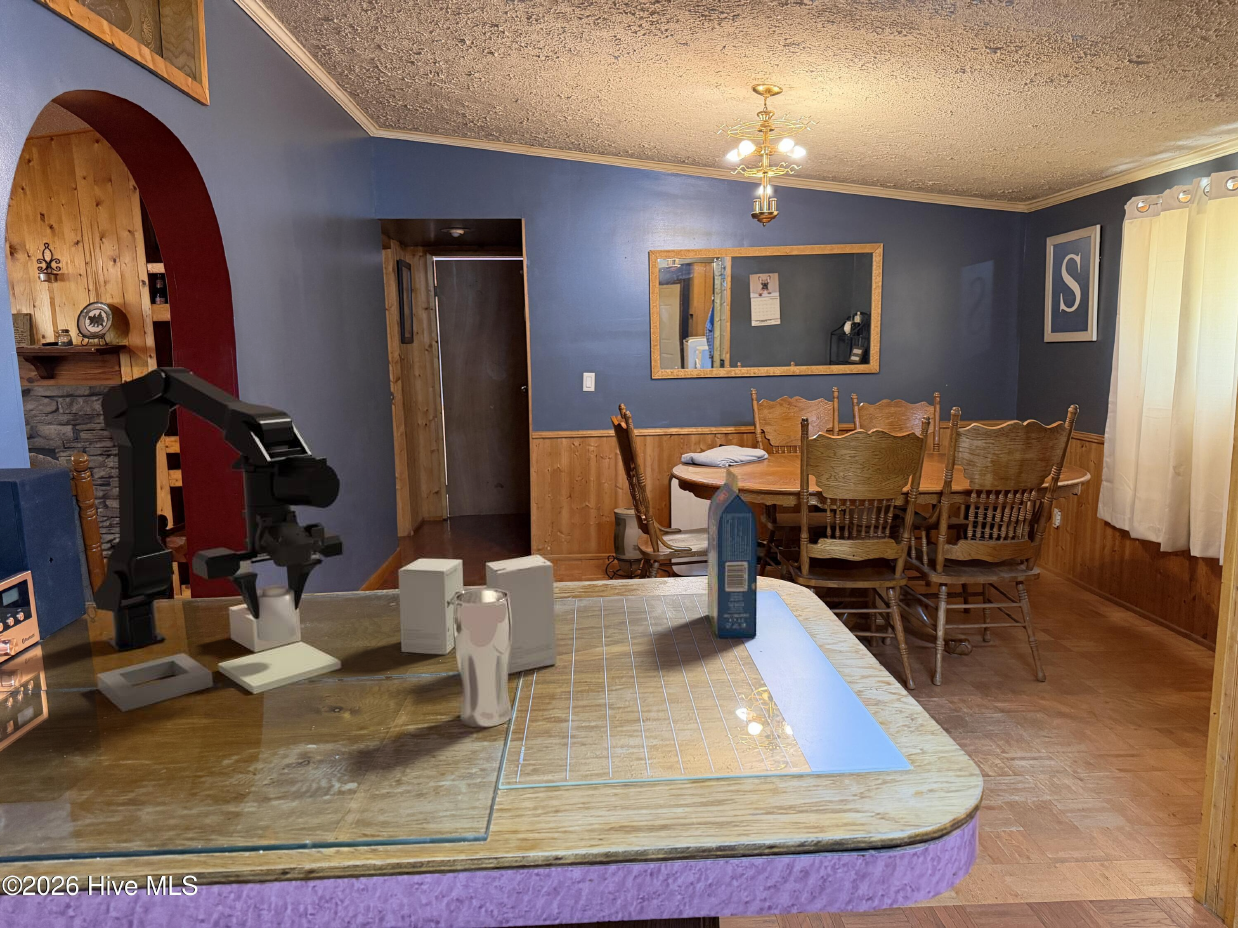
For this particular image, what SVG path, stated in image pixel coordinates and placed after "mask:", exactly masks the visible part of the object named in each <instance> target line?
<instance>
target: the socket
mask: <svg viewBox="0 0 1238 928" xmlns="http://www.w3.org/2000/svg"><path fill="white" fill-rule="evenodd" d="M212 673H213V672H212V671H211V670H209V669H208V668H207V667H205V666H203V665H202V664H200V663H199V662H197V661H196V660H194V658H191V657H190V656H189V655H187V654H185V653H183V652H182V653H177V654H174V655H170V656H166V657H162V658H157V659H154V660H150V661H147V662H142V663H138V664H134V665H130V666H126V667H122V668H117V669H114V670H110V671H109V670H108V671H107V672H101V673H98V674H96V677H97V687H98V688H97V689H98V690H99V691H100V692H101V693H102V694H103V695H104V696H105V697H106V698H107V699H109V701H111V702H112V703H113V704H114V705H115V706H116V707H117V708H118V709H119V710H120V711H122V712H127V711H131V710H134V709H138V708H141V707H145V706H149V705H153V704H156V703H159V702H162V701H166V700H170V699H174V698H176V697H180V696H184V695H187V694H190V693H191V694H192V693H194V692H198V691H202V690H204V689H205V690H206V689H207V688H208V689H209V688H212V687H214V686H213V685H214V683H213V682H214V681H213V674H212ZM173 675H175V676H173ZM169 676H172V677H169ZM164 677H168V678H165V679H164ZM161 678H163V679H161ZM157 679H160V680H157ZM154 680H156V681H154ZM150 681H152V682H150ZM145 682H149V683H146V684H142V683H145ZM138 684H141V685H138ZM135 685H138V686H135Z"/></svg>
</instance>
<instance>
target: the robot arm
mask: <svg viewBox="0 0 1238 928" xmlns="http://www.w3.org/2000/svg"><path fill="white" fill-rule="evenodd" d="M102 394H103V395H102V396H101V397H102V398H101V400H100V402H101V403H100V407H101V411H102V417H103V425H104V428H105V430H107V432H108V434H109V435H110V436H111V438H112V439H113V440H114V442H115V443H116V444H117V445H116V446H117V473H118V475H117V476H118V477H117V479H118V522H119V523H118V526H119V528H118V529H119V539H118V541H117V543H116V544H115V546H114V547H113V549H112V551H111V552H110V554H109V556H108V558H107V563H106V574H105V577H104V579H103V580H102V582H101V583H100V585H99V586H98V588H97V589H96V590H95V592H94V594H93V596H92V598H93V601H94V603H95V607H96V609H97V610H101V611H107V612H111V615H112V616H111V617H112V624H113V627H112V628H113V636H114V637H109V638H107V639H106V640H107V643H108V644H109V645H110V646H112V647H113V648H114V649H115V650H117V651H118V652H123V651H126V650H127V651H128V650H131V649H135V648H139V647H140V648H141V647H144V646H147V645H152V644H157V643H161V642H164V641H165V642H166V639H167V637H166V636H164V635H163V634H161V633H160V632H158V626H157V625H158V624H157V615H156V614H157V613H156V603H155V602H156V601H158V600H160V599H167V598H168V597H169V594H170V589H171V588H170V587H171V582H172V578H173V576H174V575H175V569H174V552H173V550H172V549H167V548H166V547H165V546H164V544H163V543H162V542H161V540H160V539H159V535H158V533H159V531H158V530H159V528H158V526H159V525H158V523H159V521H158V463H157V461H158V460H157V458H158V456H157V453H158V452H157V450H158V449H157V448H158V446H157V445H158V443H159V442H160V440H161V438H162V437H163V435H164V434H165V433H166V431H167V429H168V427H169V422H170V413H171V411H173V410H174V409H177V408H178V407H181V408H183V409H185V410H186V411H188V412H190V413H192V414H193V415H195V416H198V417H199V418H201V419H203V420H204V421H206V422H207V423H210V424H212V425H213V426H215V427H217V429H219V430H220V431H221V433H222V437H223V440H224V441H225V442H226V443H228V444H229V445H230V446H231V447H232V448H233V449H235V450H236V451H237V452H238V453H239V454H240V456H239V457H238V458H237V460H235V461H234V462H233V463H232V464H231V465H230V468H231V470H233V471H242V475H243V488H244V492H243V493H244V504H245V505H244V506H245V510H243V509H242V510H241V511H242V518H243V519H246V531H247V532H246V533H247V539H244V540H243V541H244V547H245V548H247V549H248V550H241V551H233V550H231V549H229V548H226V547H217V548H211V549H207V550H201V551H196V553H194V556H193V557H192V561H191V563H192V572H193V573H194V574H195V575H198V576H200V577H202V578H203V579H206V580H216V579H217V580H218V579H221V578H227V579H229V580H230V581H231V582H232V583H233V585H234V586H235V587H236V589H237V590H238V592H239V593H240V596H241V598H242V600H243V601H244V604H246V605H247V607H248V609H249V611H250V613H251V615H252V617H253V618H254V619H259V604H258V597H257V591H258V590H257V584H256V583H257V578H258V577H259V574H258V572H254V571H253V570H252V569H253V568H252V564H257V563H263V562H264V563H265V562H270V561H273V564H274V565H275V566H277V567H279V568H286V574H287V577H286V578H287V589H292V590H293V591H294V602H295V610H297V609H299V605H300V602H301V599H302V596H303V593H304V590H305V586H306V584H307V581H308V579H309V577H310V574H311V572H312V571H314V569H315V568H316V567H317V566H319V565H322V564H323V563H324V560H323V559H321V558H319V554H320V556H321V557H323V558H325V559H327V558H332V557H336V556H342V555H344V554H345V544H344V540H343V537H341V536H340V535H339V534H337V533H333V532H330V531H326V530H325V526H324V525H323V524H322V523H321V522H313V523H308V524H307V523H306V524H305V525H299V522H298V518H297V514H296V510H295V509H292V507H293V506H294V507H304V508H305V507H306V508H315V509H327V508H328V507H330V506H332V505H333V504H334V503H335V501H336V500H337V499H338V496H339V494H340V490H341V489H340V486H341V482H340V479H339V478H338V474H337V473H336V470H335V469H334V468H333V467H331V466H330V465H328V463H327V462H328V460H327V456H325V455H315V456H313V454H312V451H310V449H309V446H308V445H307V444H306V443H305V440H304V439H303V438H302V436H301V434H300V433H299V431H298V429H297V428H296V427H295V424H294V423H293V419H292V417H291V416H290V415H289V414H288V413H287V412H286V411H284V410H280V409H278V408H274V407H271V406H268V405H260V404H256V403H255V404H254V403H249V402H245V401H243V400H241V399H239V398H237V397H236V396H234V395H232V394H229V393H228V392H227V391H225V390H223V389H220V388H219V387H218V386H215V385H214V384H211V383H209V382H208V381H206V380H204V379H202V378H201V377H199V376H197V375H195V374H194V373H193V372H192V371H191V370H190V369H188V368H186V367H182V366H179V367H177V366H175V367H172V366H171V367H170V366H166V367H165V366H164V367H161V366H160V367H156V368H155V369H152V370H151V369H150V371H148V372H147V373H145V374H143V375H141V376H138V377H135V378H133V379H130V380H127V381H125V382H122V383H120V384H118V385H111V386H110V387H109V388H108V389H107V390H106V392H104V393H102Z"/></svg>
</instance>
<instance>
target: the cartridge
mask: <svg viewBox="0 0 1238 928" xmlns="http://www.w3.org/2000/svg"><path fill="white" fill-rule="evenodd" d="M261 590H262V591H261V592H258V593H257V597H258V604H259V619H256V623H257V638H258V639H259V640H261V641H280V640H285V639H288V638H291V637H293V636H295V635H296V618H295V602H294V591H293V590H292V589H288V588H287V587H286V585H284V584H272V585H267V586H263V588H261Z"/></svg>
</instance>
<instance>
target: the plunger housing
mask: <svg viewBox="0 0 1238 928" xmlns="http://www.w3.org/2000/svg"><path fill="white" fill-rule="evenodd" d="M228 613H229V614H228V615H229V626H230V627H229V628H230V629H229V630H230V639H231V640H233V641H234V642H236V643H238V644H240V645H241V646H243V647H245V648H247V649H248V650H251V651H252V652H254V653H259V652H263V651H267V650H271V649H274V648H278V647H282V646H286V645H288V644H289V645H290V644H293V643H297V642H301V641H302V637H301V636H302V635H301V633H302V632H301V621H300V620H301V619H300V609H299V608H298V609H297V610H295V618H296V635H295V636H293V637H291V638H288V639H285V640H280V641H261V640H259V639H258V638H257V623H256V619H254V618H253V617H252V615H251V613H250V611H249V609H248V607H247V605H246V603H244V604H243V603H242V604H239V605H235V606H234V605H233V606H230V607H228Z"/></svg>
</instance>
